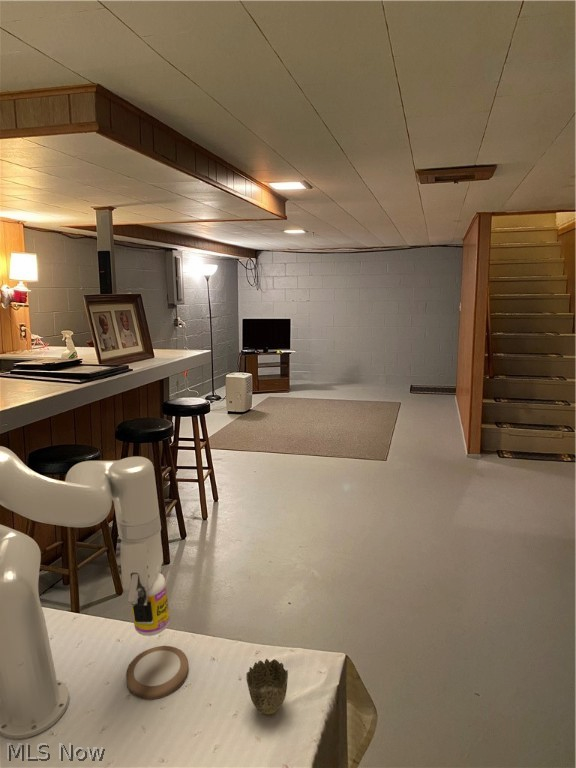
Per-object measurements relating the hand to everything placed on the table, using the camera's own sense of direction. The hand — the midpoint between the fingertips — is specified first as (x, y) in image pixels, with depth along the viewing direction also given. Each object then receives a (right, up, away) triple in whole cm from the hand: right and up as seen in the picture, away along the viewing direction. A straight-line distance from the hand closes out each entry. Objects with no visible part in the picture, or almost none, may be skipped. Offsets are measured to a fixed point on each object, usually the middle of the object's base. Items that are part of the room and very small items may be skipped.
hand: (150, 606), depth 107 cm
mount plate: (+1, -15, +5) cm, 16 cm away
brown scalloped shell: (+23, -17, -4) cm, 29 cm away
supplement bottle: (0, -4, +1) cm, 4 cm away
